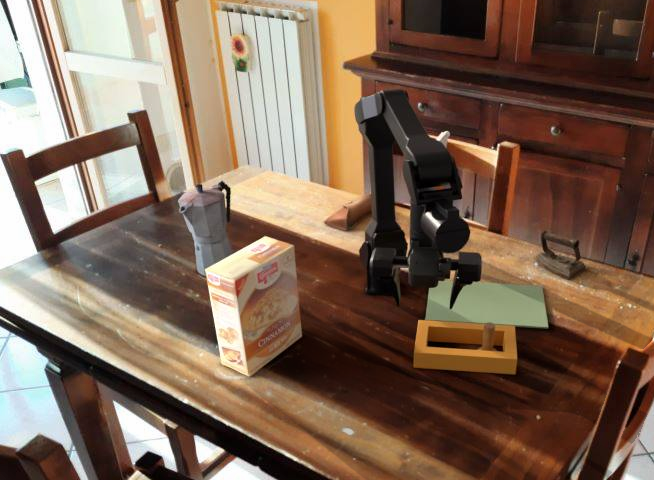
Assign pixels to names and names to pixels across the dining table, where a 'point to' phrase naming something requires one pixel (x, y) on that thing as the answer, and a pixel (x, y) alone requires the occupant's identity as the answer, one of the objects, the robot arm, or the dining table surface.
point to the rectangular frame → (464, 357)
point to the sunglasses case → (350, 213)
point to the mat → (489, 304)
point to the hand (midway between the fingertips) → (424, 306)
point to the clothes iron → (557, 262)
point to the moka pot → (208, 223)
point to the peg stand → (488, 337)
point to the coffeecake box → (255, 304)
